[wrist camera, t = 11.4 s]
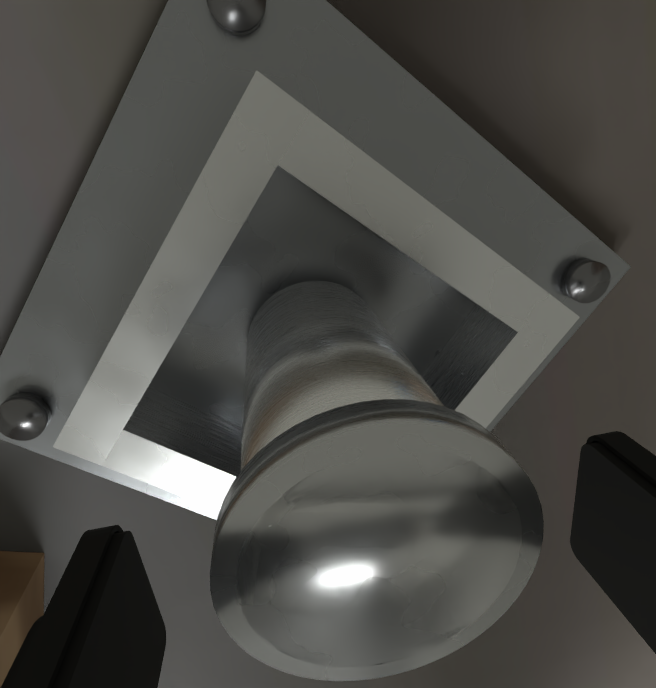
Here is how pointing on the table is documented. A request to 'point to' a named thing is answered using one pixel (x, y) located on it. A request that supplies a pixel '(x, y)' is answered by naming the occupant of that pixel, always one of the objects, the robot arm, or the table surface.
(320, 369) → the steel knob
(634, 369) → the table surface
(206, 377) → the square metal socket
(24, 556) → the wooden cube
